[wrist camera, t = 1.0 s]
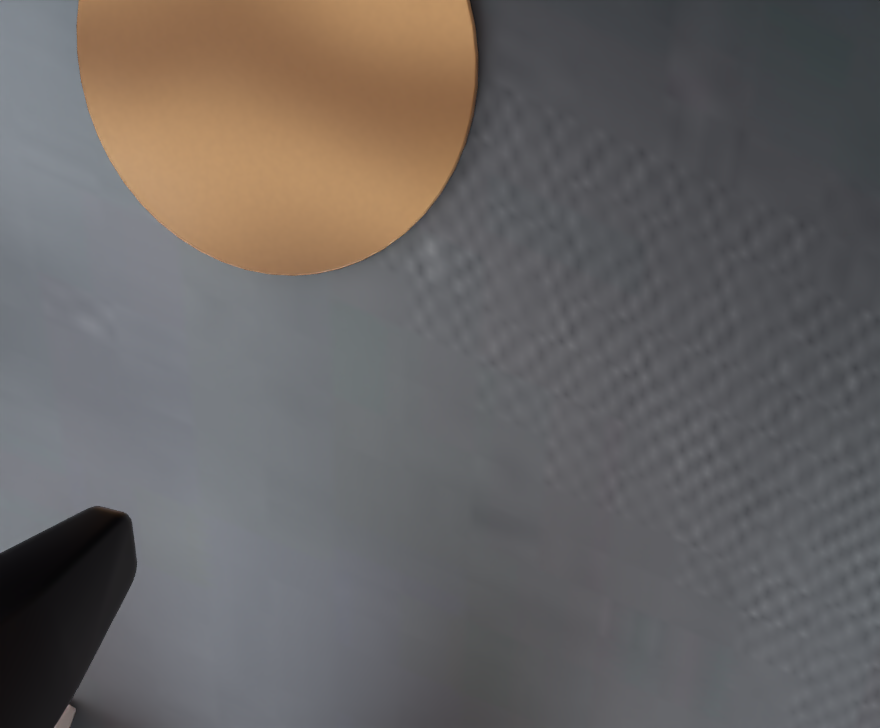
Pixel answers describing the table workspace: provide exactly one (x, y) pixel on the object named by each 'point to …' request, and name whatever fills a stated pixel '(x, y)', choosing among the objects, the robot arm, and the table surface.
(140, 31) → the coaster
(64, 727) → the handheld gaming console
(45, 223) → the table surface
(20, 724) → the robot arm
